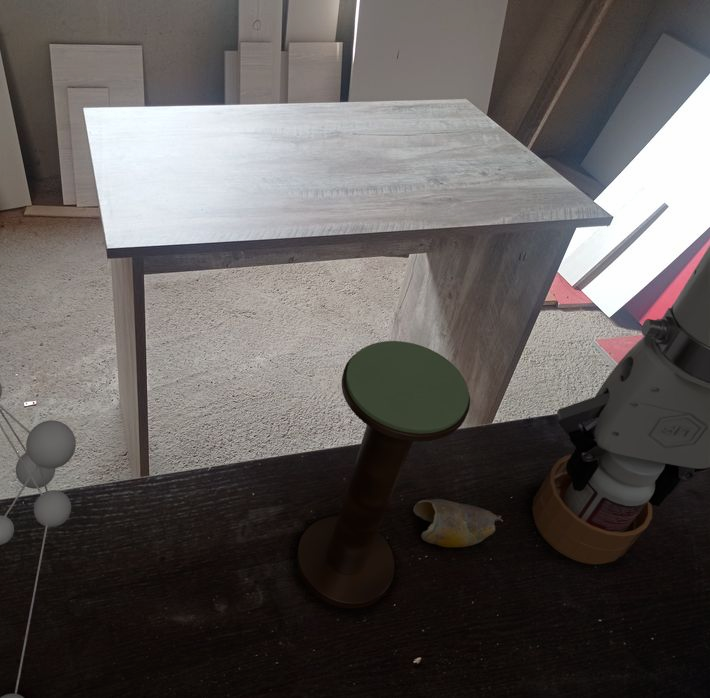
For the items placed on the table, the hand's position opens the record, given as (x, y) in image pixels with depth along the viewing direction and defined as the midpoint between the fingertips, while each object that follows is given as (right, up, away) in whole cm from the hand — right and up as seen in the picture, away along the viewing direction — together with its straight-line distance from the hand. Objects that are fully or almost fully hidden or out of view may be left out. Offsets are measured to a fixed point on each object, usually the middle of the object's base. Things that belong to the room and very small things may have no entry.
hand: (612, 484), depth 67 cm
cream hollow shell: (-14, -6, +3) cm, 16 cm away
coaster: (-23, +10, -16) cm, 30 cm away
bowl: (-1, -5, +5) cm, 7 cm away
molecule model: (-57, -8, -4) cm, 58 cm away
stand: (-25, -7, 0) cm, 26 cm away
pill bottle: (-1, -5, +4) cm, 7 cm away
